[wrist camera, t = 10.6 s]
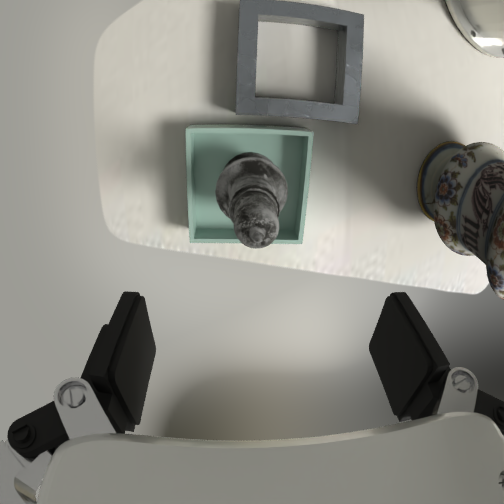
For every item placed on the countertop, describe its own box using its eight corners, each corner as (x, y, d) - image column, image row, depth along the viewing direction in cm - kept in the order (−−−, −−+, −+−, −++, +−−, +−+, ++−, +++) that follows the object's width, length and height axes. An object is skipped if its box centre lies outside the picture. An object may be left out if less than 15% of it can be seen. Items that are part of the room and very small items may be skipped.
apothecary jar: (461, 238, 33) (549, 328, 17) (392, 216, 31) (492, 326, 15) (494, 154, 27) (604, 215, 12) (428, 114, 25) (568, 163, 10)
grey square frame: (353, 19, 21) (363, 14, 19) (348, 121, 26) (357, 124, 24) (239, 6, 20) (240, -2, 18) (235, 112, 25) (235, 114, 23)
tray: (305, 127, 26) (313, 132, 24) (296, 230, 31) (302, 243, 29) (190, 124, 26) (185, 128, 23) (193, 228, 31) (189, 242, 28)
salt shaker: (238, 220, 30) (239, 298, 19) (205, 169, 27) (185, 223, 17) (292, 192, 28) (325, 257, 18) (263, 137, 26) (282, 170, 15)
